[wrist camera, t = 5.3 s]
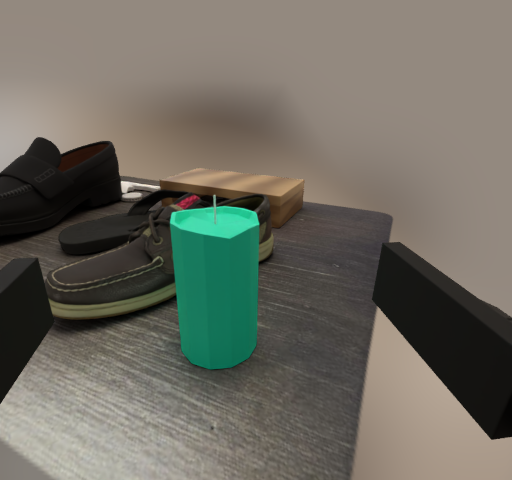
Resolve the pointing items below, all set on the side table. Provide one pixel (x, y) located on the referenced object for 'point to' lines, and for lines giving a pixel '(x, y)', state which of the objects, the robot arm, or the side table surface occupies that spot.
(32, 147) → the loafer
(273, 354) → the side table surface
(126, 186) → the white plastic blade
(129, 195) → the white ridged disc
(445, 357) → the robot arm
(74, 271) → the boat shoe
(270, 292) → the side table surface
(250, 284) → the candle
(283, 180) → the oak shelf
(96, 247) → the sandal
